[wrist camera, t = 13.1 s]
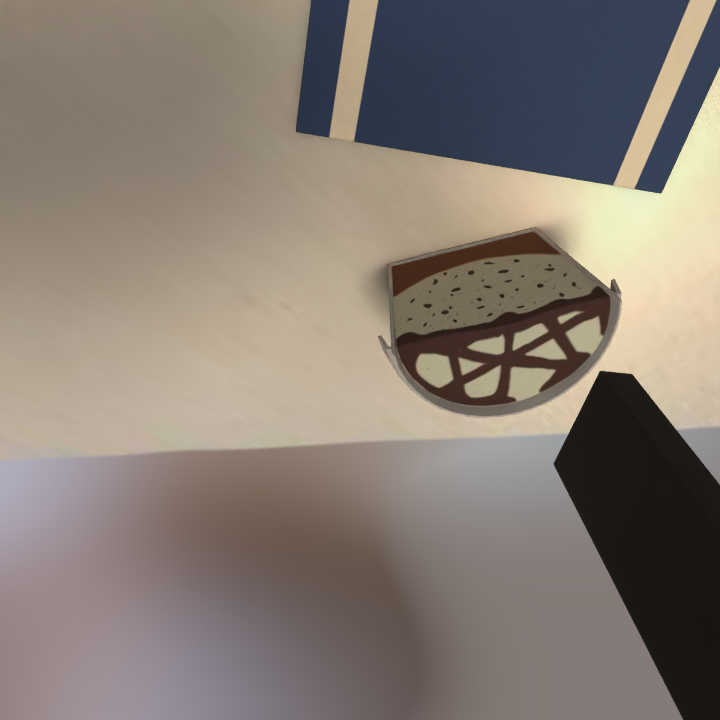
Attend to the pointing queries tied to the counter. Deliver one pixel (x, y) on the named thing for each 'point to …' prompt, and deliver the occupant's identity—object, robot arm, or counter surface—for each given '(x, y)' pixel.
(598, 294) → the food container
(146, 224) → the counter surface
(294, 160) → the counter surface
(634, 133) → the cloth
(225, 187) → the counter surface
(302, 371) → the counter surface
